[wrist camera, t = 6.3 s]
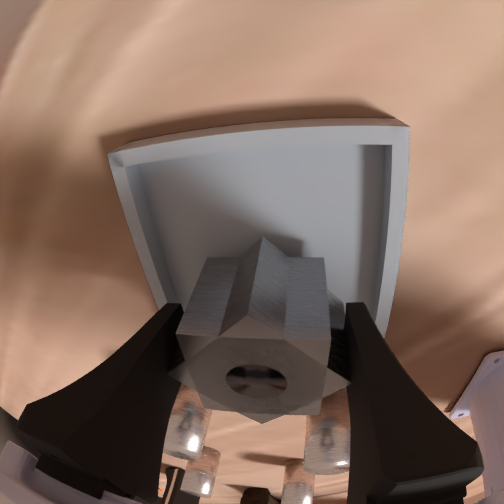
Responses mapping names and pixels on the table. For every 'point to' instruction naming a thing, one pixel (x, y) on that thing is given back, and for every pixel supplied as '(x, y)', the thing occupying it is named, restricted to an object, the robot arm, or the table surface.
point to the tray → (271, 201)
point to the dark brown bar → (257, 496)
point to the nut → (262, 335)
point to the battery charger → (176, 489)
